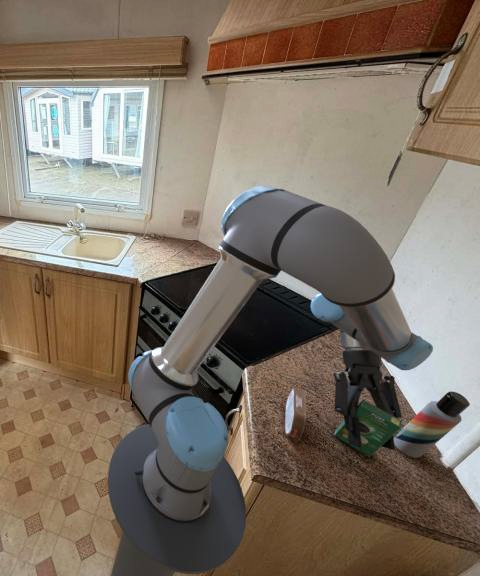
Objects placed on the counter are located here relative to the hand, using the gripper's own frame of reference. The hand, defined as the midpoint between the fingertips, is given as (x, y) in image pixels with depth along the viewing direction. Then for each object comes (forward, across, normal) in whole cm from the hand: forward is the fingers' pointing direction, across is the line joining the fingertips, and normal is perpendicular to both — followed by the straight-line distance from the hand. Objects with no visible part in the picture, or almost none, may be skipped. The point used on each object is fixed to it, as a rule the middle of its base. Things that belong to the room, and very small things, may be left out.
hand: (371, 446), depth 74 cm
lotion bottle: (+1, -14, -6) cm, 15 cm away
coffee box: (+1, 0, -6) cm, 6 cm away
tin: (-3, +14, -9) cm, 17 cm away
